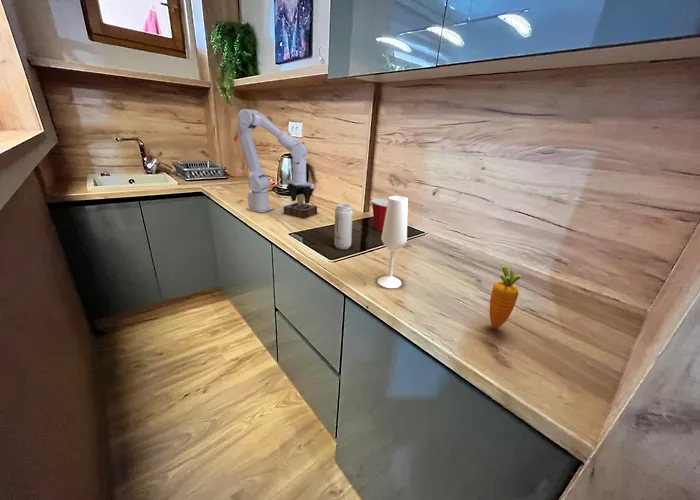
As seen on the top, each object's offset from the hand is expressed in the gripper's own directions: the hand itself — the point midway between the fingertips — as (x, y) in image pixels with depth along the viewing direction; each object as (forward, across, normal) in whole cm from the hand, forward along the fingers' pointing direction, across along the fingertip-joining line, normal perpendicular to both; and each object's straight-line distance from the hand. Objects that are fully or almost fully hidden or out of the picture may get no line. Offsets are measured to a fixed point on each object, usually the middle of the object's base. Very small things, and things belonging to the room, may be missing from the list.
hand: (300, 202), depth 141 cm
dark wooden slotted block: (+6, 0, 0) cm, 6 cm away
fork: (+6, 0, 0) cm, 6 cm away
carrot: (+6, +89, -46) cm, 100 cm away
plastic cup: (+6, +41, +2) cm, 41 cm away
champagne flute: (+6, +61, -39) cm, 73 cm away
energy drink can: (+6, +37, -24) cm, 44 cm away
